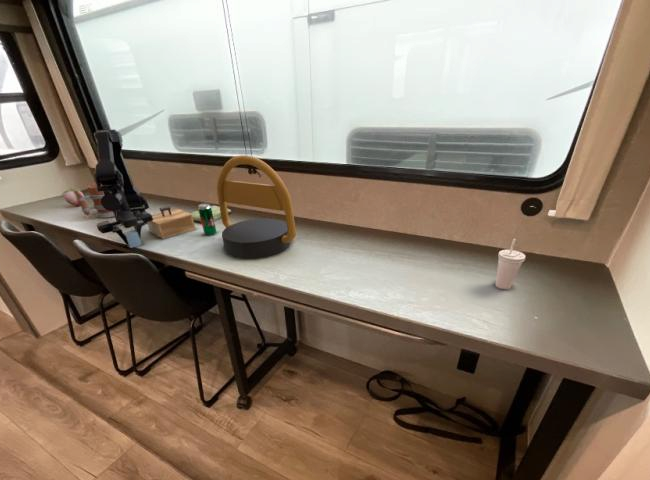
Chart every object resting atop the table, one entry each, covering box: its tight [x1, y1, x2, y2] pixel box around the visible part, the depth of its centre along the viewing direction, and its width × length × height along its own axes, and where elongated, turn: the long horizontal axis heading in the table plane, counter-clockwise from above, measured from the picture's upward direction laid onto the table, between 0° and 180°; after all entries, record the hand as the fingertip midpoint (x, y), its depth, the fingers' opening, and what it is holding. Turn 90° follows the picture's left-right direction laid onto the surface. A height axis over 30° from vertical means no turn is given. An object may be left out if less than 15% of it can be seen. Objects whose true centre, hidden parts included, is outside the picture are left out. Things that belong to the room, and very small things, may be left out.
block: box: [123, 229, 143, 249], centre depth 130 cm, size 4×4×5 cm
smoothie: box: [495, 238, 526, 290], centre depth 89 cm, size 6×6×14 cm
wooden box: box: [146, 216, 196, 240], centre depth 142 cm, size 14×15×6 cm
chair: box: [216, 155, 297, 260], centre depth 117 cm, size 25×35×32 cm
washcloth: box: [189, 205, 232, 223], centre depth 157 cm, size 13×18×3 cm
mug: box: [74, 182, 115, 219], centre depth 164 cm, size 14×19×15 cm
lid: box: [151, 205, 192, 226], centre depth 140 cm, size 14×15×4 cm
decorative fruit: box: [61, 187, 85, 207], centre depth 183 cm, size 9×8×10 cm
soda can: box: [197, 203, 217, 236], centre depth 135 cm, size 5×5×12 cm
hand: (133, 242), depth 131 cm, fingers closed on block, 4 cm apart
